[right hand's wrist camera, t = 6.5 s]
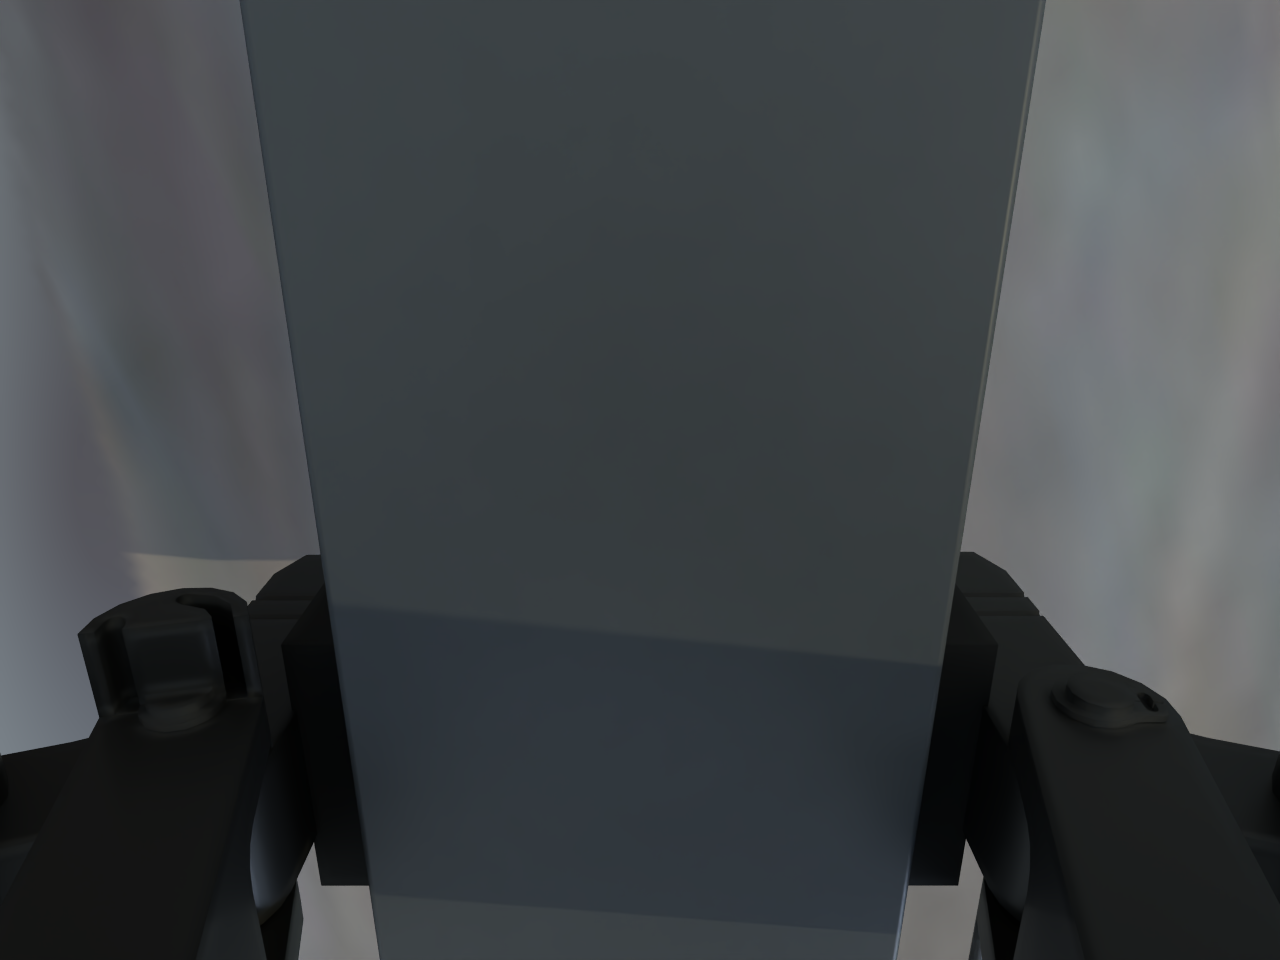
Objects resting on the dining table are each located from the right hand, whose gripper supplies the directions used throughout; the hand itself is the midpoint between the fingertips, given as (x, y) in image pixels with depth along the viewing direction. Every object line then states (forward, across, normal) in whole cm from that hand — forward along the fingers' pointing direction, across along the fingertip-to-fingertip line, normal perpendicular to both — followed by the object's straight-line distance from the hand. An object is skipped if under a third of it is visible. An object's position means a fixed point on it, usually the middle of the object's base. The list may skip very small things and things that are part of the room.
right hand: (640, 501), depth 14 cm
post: (0, 0, -26) cm, 26 cm away
